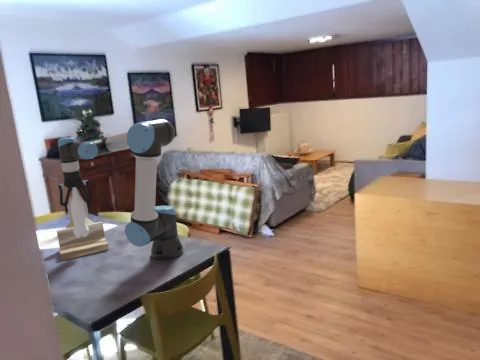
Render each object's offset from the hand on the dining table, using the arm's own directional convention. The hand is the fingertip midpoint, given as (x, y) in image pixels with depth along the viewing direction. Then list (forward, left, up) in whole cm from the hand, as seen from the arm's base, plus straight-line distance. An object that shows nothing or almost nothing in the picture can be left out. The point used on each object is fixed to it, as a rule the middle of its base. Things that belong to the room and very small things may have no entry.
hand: (78, 216), depth 198 cm
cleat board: (+4, 0, -19) cm, 19 cm away
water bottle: (0, 0, -10) cm, 10 cm away
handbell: (+43, -1, -19) cm, 47 cm away
